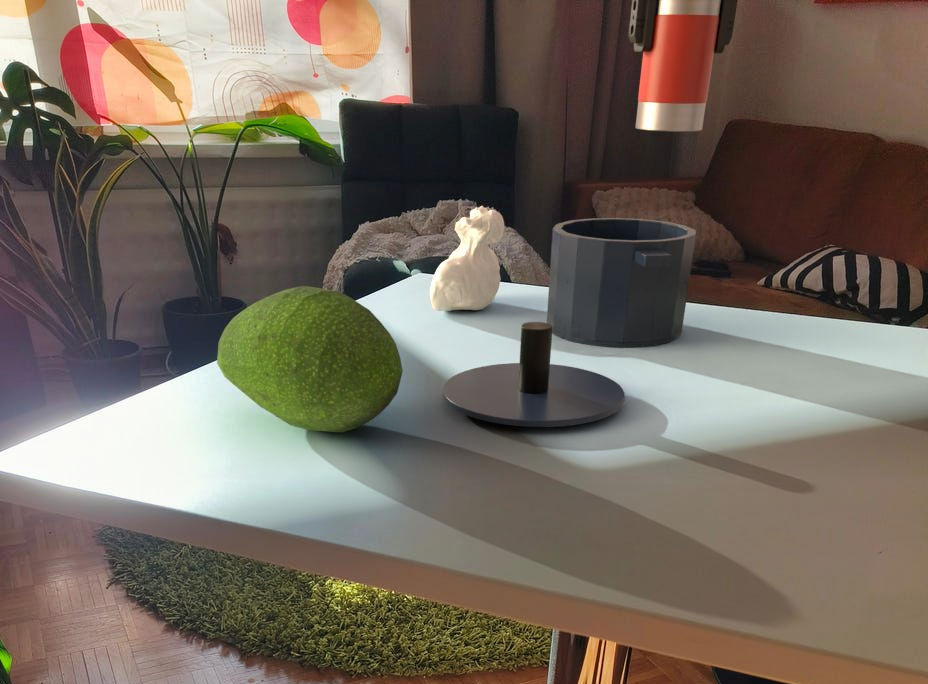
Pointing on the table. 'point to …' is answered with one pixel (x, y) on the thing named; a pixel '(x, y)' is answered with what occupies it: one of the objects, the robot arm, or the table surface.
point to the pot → (619, 281)
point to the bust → (470, 265)
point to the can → (678, 66)
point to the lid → (533, 388)
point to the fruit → (312, 359)
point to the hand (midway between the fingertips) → (678, 51)
